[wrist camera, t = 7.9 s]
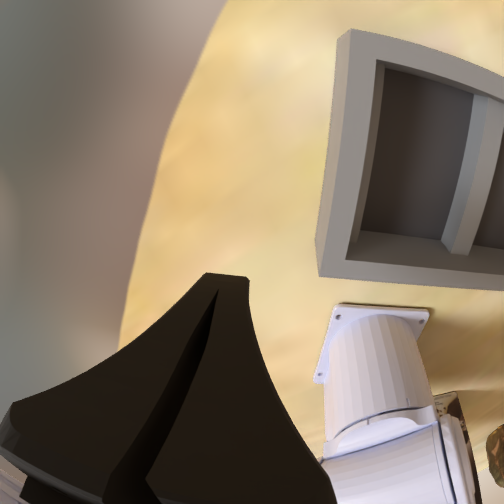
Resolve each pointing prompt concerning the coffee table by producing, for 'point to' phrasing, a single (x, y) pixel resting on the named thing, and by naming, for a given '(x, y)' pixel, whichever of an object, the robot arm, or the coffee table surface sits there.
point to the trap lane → (412, 168)
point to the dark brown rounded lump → (496, 455)
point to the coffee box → (452, 406)
